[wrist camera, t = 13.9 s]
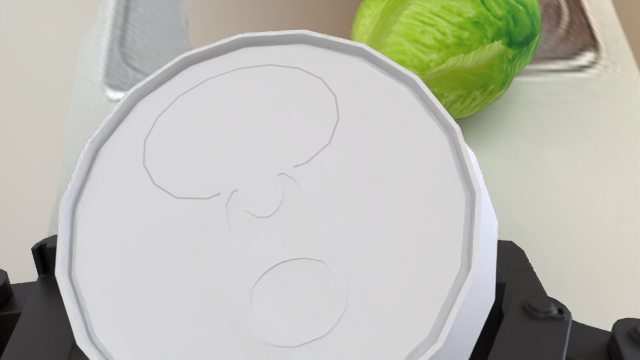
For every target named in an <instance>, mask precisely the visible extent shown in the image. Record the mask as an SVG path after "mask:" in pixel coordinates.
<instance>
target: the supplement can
mask: <svg viewBox="0 0 640 360" xmlns="http://www.w3.org/2000/svg"><path fill="white" fill-rule="evenodd" d="M497 234H498V221H497V218H496V215H495V212H494V209H493V206H492V203H491V200H490V197H489V194H488V192H487V189H486V186H485V183H484V180H483V177H482V174H481V171H480V168H479V165H478V162H477V159H476V156H475V154H474V153H473V152H472V150H471V149H470V148H469V147H468V145H467V144H466V143H465V141H464V138H463V135H462V132H461V129H460V127H459V125H458V124H457V123H456V122H455V120H454V119H453V118H452V117H451V116H450V114H449V113H448V112H447V111H446V110H445V108H444V107H443V106H442V105H441V103H440V102H439V101H438V100H437V99H436V97H435V96H434V95H433V94H432V92H431V91H430V90H429V89H428V88H427V86H426V85H425V84H424V83H423V81H422V80H421V79H420V78H419V77H418V76H417V75H415V74H413V73H412V72H410V71H409V70H407V69H405V68H404V67H402V66H400V65H399V64H397V63H395V62H394V61H392V60H390V59H389V58H387V57H385V56H384V55H382V54H380V53H379V52H377V51H375V50H374V49H372V48H370V47H369V46H367V45H365V44H363V43H359V42H354V41H350V40H346V39H341V38H337V37H333V36H328V35H325V34H320V33H316V32H312V31H307V30H291V31H290V30H289V31H272V32H255V33H241V34H238V35H235V36H232V37H229V38H227V39H224V40H221V41H218V42H215V43H212V44H209V45H206V46H203V47H200V48H197V49H194V50H191V51H189V52H186V53H183V54H181V55H179V56H178V57H176V58H175V59H174V60H172V61H171V62H169V63H168V64H166V65H165V66H163V67H162V68H160V69H159V70H157V71H156V72H155V73H153V74H152V75H150V76H149V77H147V78H146V79H144V80H143V81H141V82H140V83H138V84H137V85H136V86H134V87H133V88H131V89H130V90H128V92H127V93H126V94H125V95H124V96H123V98H122V99H121V100H120V101H119V102H118V104H117V105H116V106H115V107H114V108H113V110H112V111H111V112H110V113H109V114H108V116H107V117H106V118H105V119H104V120H103V122H102V123H101V124H100V125H99V126H98V128H97V129H96V130H95V131H94V132H93V134H92V135H91V136H90V137H89V138H88V140H87V141H86V143H85V145H84V148H83V150H82V152H81V155H80V157H79V159H78V162H77V164H76V167H75V169H74V171H73V174H72V176H71V178H70V181H69V183H68V186H67V188H66V190H65V193H64V195H63V198H62V200H61V202H60V208H59V223H58V237H57V252H56V267H55V276H56V279H57V282H58V285H59V289H60V292H61V295H62V298H63V302H64V305H65V308H66V311H67V314H68V318H69V321H70V324H71V327H72V330H73V334H74V337H75V340H76V343H77V345H78V346H79V347H80V349H81V350H82V351H83V352H84V353H85V354H86V356H87V357H88V358H89V359H90V360H468V359H469V357H470V355H471V353H472V350H473V348H474V346H475V344H476V341H477V339H478V337H479V335H480V332H481V330H482V328H483V326H484V323H485V321H486V319H487V317H488V314H489V312H490V310H491V308H492V305H493V303H494V301H495V282H496V258H497Z"/></svg>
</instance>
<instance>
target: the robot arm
mask: <svg viewBox="0 0 640 360" xmlns="http://www.w3.org/2000/svg"><path fill="white" fill-rule="evenodd" d="M57 237H58V235H54V236H51V237H48V238H45V239H43V240H42V241H40V242H38V243H36V244H35V245H34V246H33V247H32V248H31V250H32V254H33V258H34V261H35V265H36V269H37V272H38V276H39V277H38V279H37V281H35V282H26V283H17V284H10V281H9V278H8V274H7V272H6V271H4V270H2V269H0V360H90V359H89V358H88V357H87V356H86V354H85V353H84V352H83V351H82V350H81V349H80V347H79V346H78V345H77V343H76V340H75V337H74V334H73V330H72V327H71V324H70V321H69V318H68V314H67V311H66V308H65V305H64V302H63V298H62V295H61V292H60V289H59V285H58V282H57V279H56V276H55V267H56V252H57ZM468 360H640V319H637V318H624V319H620V320H617V321H616V322H615V323H614V324H613V327H612V330H611V332H610V331H606V330H602V329H599V328H595V327H591V326H588V325H585V324H582V323H579V322H576V321H574V320H572V316H571V312H570V311H569V310H568V309H567V307H566V306H565V305H564V304H562V303H561V302H559V301H558V300H556V299H554V298H551V297H549V296H547V294H546V292H545V290H544V288H543V286H542V284H541V282H540V281H539V279H538V277H537V275H536V273H535V271H533V267H532V265H531V264H530V263H529V260H528V258H527V256H526V254H525V252H524V250H522V249H521V248H520V247H519V246H517V245H516V244H515V243H514V242H512V241H504V240H497V258H496V282H495V301H494V303H493V305H492V308H491V310H490V312H489V314H488V317H487V319H486V321H485V323H484V326H483V328H482V330H481V332H480V335H479V337H478V339H477V341H476V344H475V346H474V348H473V350H472V353H471V355H470V357H469V359H468Z"/></svg>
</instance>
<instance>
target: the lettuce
mask: <svg viewBox="0 0 640 360" xmlns="http://www.w3.org/2000/svg"><path fill="white" fill-rule="evenodd" d="M540 33H541V18H540V8H539V4H538V0H363V1H362V2H361V3H360V5H359V7H358V10H357V13H356V15H355V18H354V21H353V24H352V26H351V41H354V42H359V43H363V44H365V45H367V46H369V47H370V48H372V49H374V50H375V51H377V52H379V53H380V54H382V55H384V56H385V57H387V58H389V59H390V60H392V61H394V62H395V63H397V64H399V65H400V66H402V67H404V68H405V69H407V70H409V71H410V72H412V73H413V74H415V75H417V76H418V77H419V78H420V79H421V80H422V81H423V83H424V84H425V85H426V86H427V88H428V89H429V90H430V91H431V92H432V94H433V95H434V96H435V97H436V99H437V100H438V101H439V102H440V103H441V105H442V106H443V107H444V108H445V110H446V111H447V112H448V113H449V114H450V116H451V117H452V118H453V119H454V120H458V119H463V118H467V117H471V116H472V115H473V114H475V113H476V112H478V111H479V110H481V109H482V108H484V107H486V106H487V105H489V104H490V103H492V102H494V101H495V100H497V99H498V98H499V97H500V96H501V95H502V94H503V93H504V92H505V91H506V89H507V88H508V87H509V85H510V83H511V82H512V80H513V78H514V76H515V75H517V74H518V73H519V72H520V71H521V70H522V69H523V68H524V67H525V66H526V65H527V64H528V63H529V62H530V60H531V58H532V57H533V55H534V53H535V51H536V49H537V46H538V42H539V37H540Z"/></svg>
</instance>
